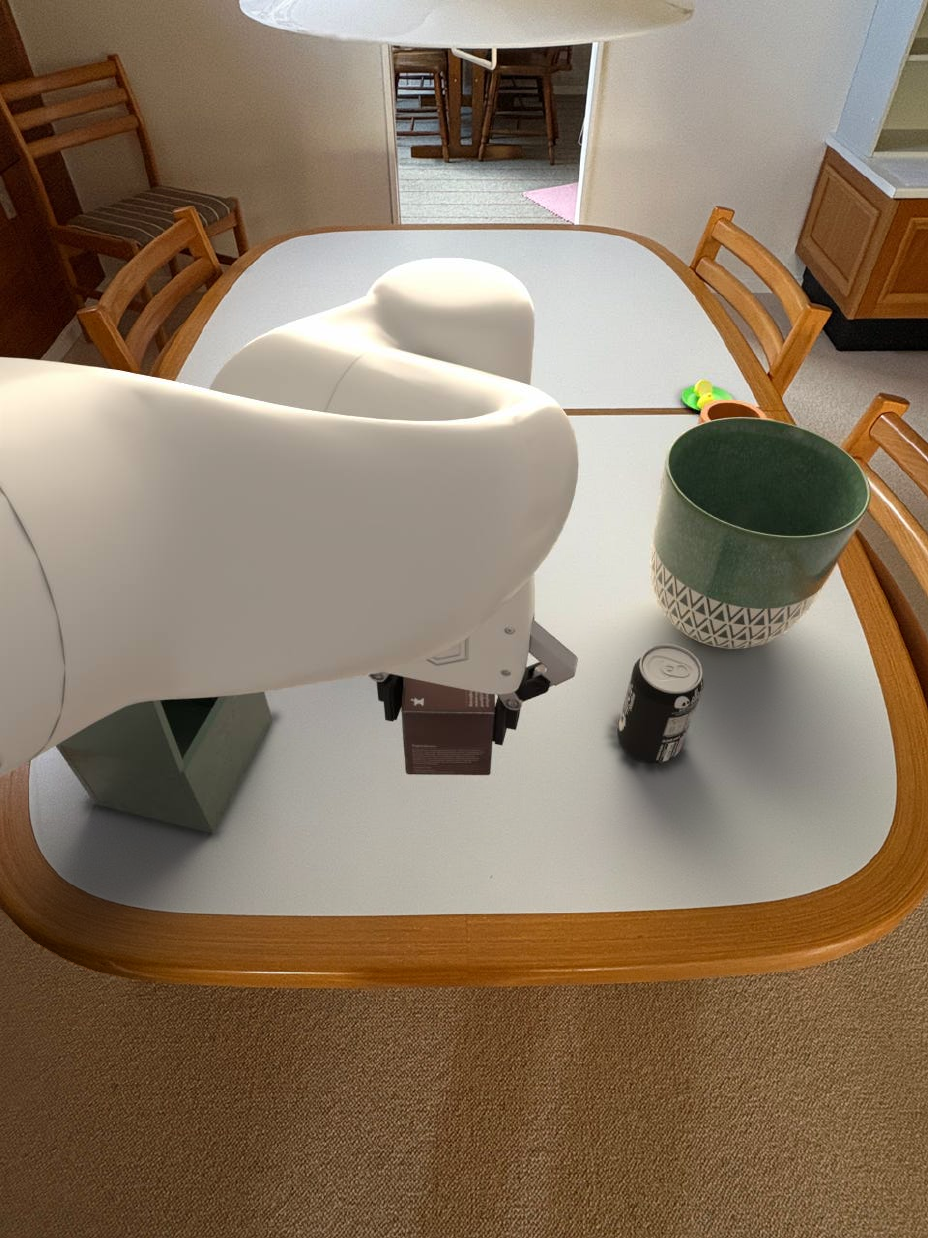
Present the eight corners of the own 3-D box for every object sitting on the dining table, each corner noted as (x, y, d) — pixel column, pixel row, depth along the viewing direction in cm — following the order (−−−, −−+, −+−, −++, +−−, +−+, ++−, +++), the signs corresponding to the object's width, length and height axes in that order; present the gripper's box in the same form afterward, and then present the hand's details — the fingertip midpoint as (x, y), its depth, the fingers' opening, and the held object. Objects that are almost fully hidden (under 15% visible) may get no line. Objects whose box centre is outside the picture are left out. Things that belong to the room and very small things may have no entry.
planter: (673, 543, 102) (713, 396, 86) (822, 606, 94) (895, 458, 79) (601, 634, 91) (631, 486, 75) (763, 714, 83) (834, 567, 68)
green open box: (164, 695, 85) (134, 628, 77) (272, 719, 83) (252, 653, 75) (94, 804, 76) (51, 741, 68) (213, 834, 74) (184, 772, 66)
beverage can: (616, 711, 84) (634, 636, 75) (678, 718, 83) (705, 644, 74) (615, 763, 79) (635, 691, 70) (681, 771, 79) (710, 699, 70)
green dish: (670, 394, 126) (674, 379, 124) (711, 383, 128) (715, 368, 126) (700, 420, 121) (705, 404, 119) (742, 408, 123) (747, 392, 121)
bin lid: (-14, 612, 58) (-61, 657, 55) (139, 644, 56) (100, 693, 53) (52, 734, 68) (16, 779, 65) (184, 766, 66) (155, 814, 63)
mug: (774, 497, 108) (794, 442, 102) (685, 485, 110) (700, 430, 104) (771, 459, 114) (790, 405, 108) (687, 448, 116) (701, 394, 109)
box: (491, 779, 54) (495, 715, 49) (404, 777, 54) (399, 712, 49) (490, 708, 59) (494, 643, 53) (409, 707, 59) (406, 641, 53)
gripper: (266, 530, 40) (311, 733, 53) (603, 591, 38) (564, 790, 50) (320, 449, 45) (349, 653, 58) (621, 498, 43) (581, 700, 55)
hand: (449, 715), depth 54 cm, fingers closed on box, 6 cm apart
